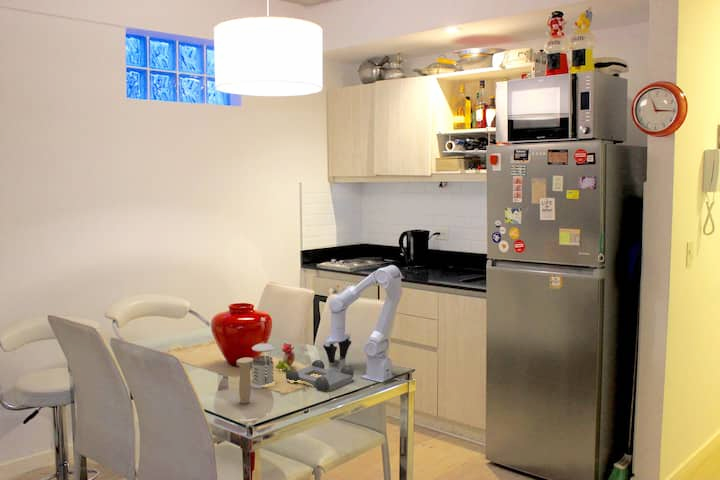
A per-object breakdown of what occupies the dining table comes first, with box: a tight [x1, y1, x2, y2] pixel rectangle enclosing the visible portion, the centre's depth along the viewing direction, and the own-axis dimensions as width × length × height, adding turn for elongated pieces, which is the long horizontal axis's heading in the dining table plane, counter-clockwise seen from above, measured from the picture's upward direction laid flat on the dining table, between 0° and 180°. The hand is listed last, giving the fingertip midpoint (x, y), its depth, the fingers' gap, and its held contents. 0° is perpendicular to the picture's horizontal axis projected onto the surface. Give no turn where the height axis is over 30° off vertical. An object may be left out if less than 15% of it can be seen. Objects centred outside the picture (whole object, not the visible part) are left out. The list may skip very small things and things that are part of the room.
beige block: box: [328, 355, 346, 373], centre depth 281 cm, size 5×4×5 cm
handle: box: [236, 356, 254, 405], centre depth 242 cm, size 5×6×15 cm
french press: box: [251, 317, 275, 389], centre depth 261 cm, size 10×12×25 cm
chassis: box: [285, 359, 354, 392], centre depth 267 cm, size 20×17×5 cm
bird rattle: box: [275, 342, 296, 371], centre depth 281 cm, size 6×11×9 cm
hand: (337, 360), depth 281 cm, fingers open, 7 cm apart
